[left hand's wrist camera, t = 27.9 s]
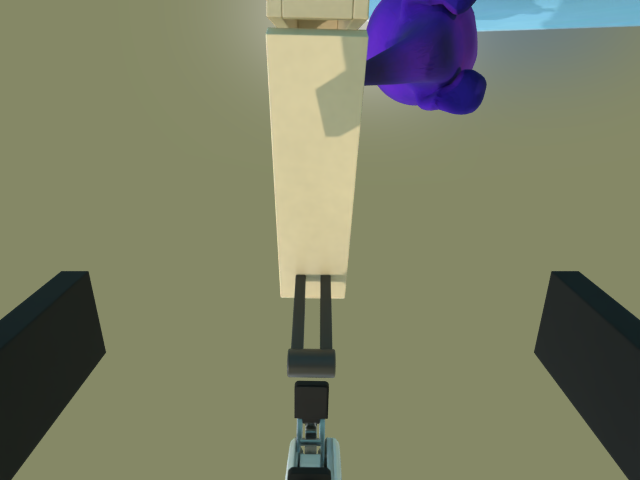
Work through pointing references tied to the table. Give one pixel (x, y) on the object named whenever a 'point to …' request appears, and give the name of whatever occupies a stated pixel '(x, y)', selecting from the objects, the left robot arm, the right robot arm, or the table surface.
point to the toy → (425, 54)
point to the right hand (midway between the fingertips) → (310, 421)
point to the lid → (314, 172)
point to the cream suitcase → (318, 13)
